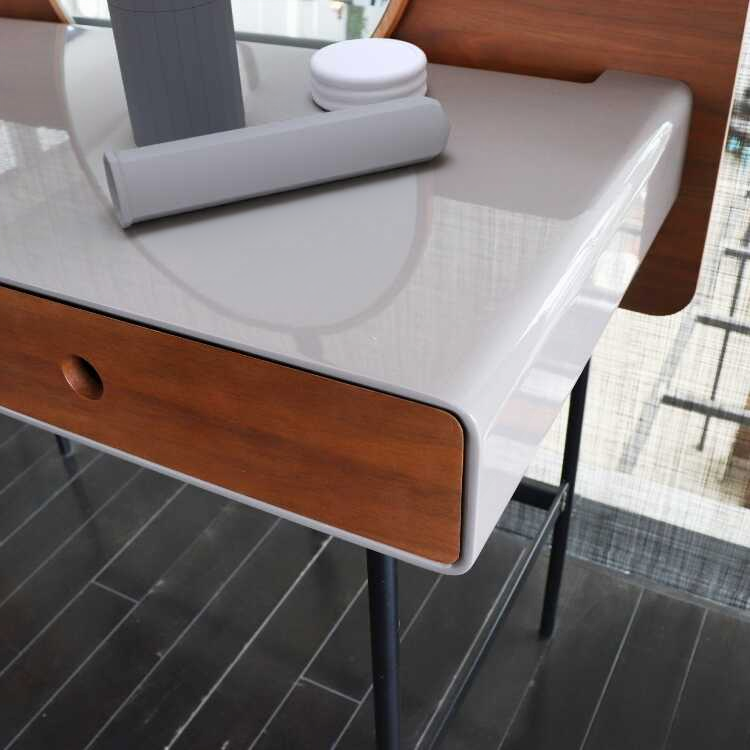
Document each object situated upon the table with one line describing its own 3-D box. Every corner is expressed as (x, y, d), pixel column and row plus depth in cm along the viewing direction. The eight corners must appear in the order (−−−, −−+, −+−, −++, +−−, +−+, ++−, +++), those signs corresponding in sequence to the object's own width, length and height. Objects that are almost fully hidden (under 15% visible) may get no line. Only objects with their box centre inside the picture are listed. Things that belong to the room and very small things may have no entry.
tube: (426, 87, 76) (98, 148, 69) (457, 87, 71) (108, 152, 64) (435, 157, 78) (117, 224, 71) (466, 161, 73) (127, 233, 66)
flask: (128, 160, 77) (90, -29, 69) (140, 115, 84) (107, -60, 76) (245, 151, 78) (221, -37, 69) (246, 108, 85) (225, -68, 77)
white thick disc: (441, 109, 83) (441, 68, 81) (323, 124, 81) (320, 82, 79) (410, 69, 91) (409, 30, 89) (302, 82, 89) (299, 43, 87)
